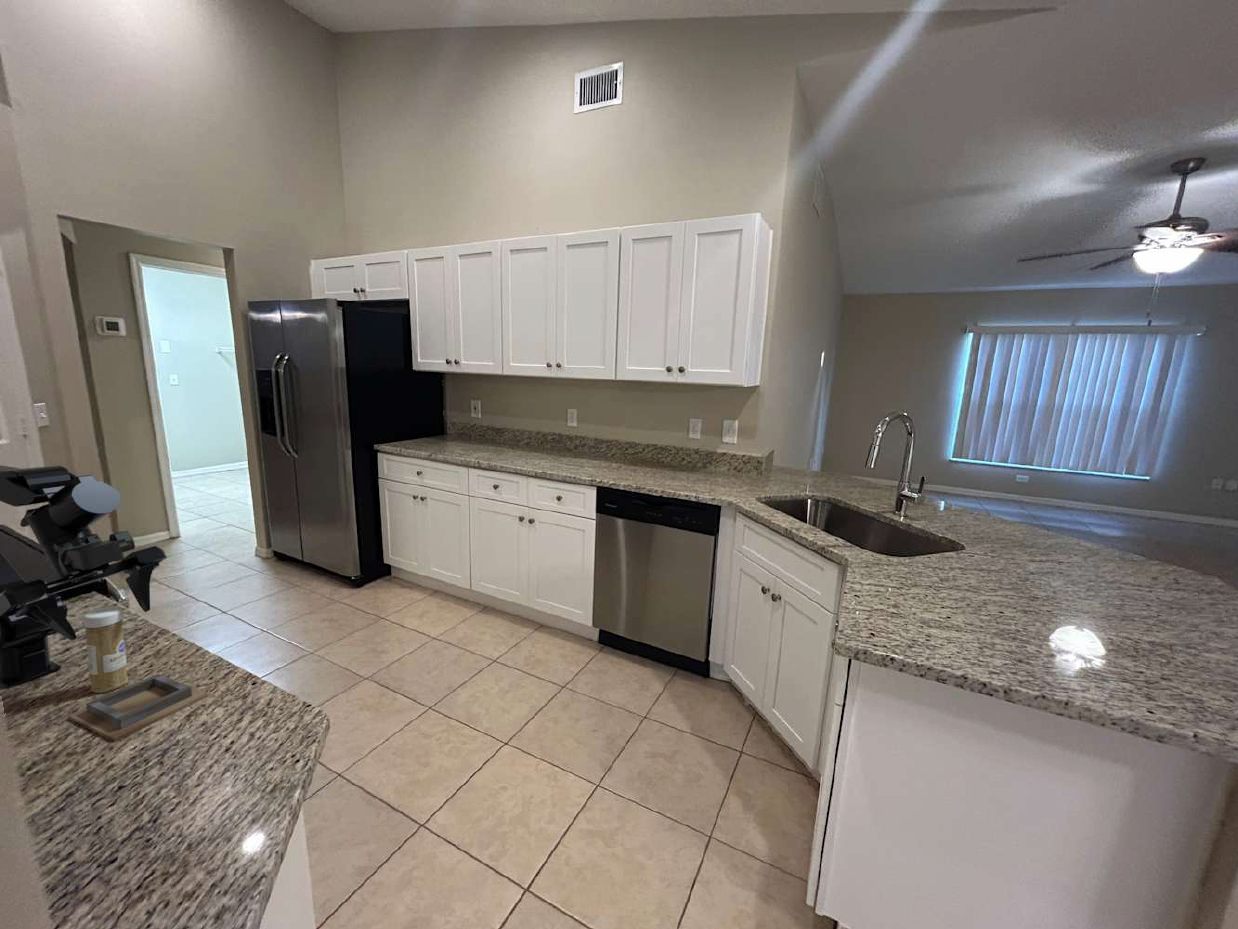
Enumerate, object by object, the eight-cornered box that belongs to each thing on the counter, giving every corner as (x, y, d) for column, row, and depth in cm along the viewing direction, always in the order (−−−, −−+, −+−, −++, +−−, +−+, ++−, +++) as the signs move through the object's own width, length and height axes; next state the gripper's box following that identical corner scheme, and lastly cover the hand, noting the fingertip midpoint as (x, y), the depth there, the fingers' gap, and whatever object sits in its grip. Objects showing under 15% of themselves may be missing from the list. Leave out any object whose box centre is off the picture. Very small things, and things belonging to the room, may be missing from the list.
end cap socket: (68, 718, 75) (67, 706, 75) (163, 678, 86) (163, 667, 86) (114, 741, 71) (113, 729, 71) (208, 696, 82) (207, 685, 82)
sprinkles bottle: (124, 689, 83) (118, 613, 81) (86, 697, 80) (78, 619, 78) (131, 675, 87) (125, 603, 85) (95, 682, 84) (87, 608, 82)
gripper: (-5, 541, 67) (50, 641, 68) (159, 504, 85) (202, 584, 85) (-29, 567, 72) (22, 662, 72) (131, 527, 89) (171, 603, 89)
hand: (113, 624), depth 80 cm, fingers open, 9 cm apart
